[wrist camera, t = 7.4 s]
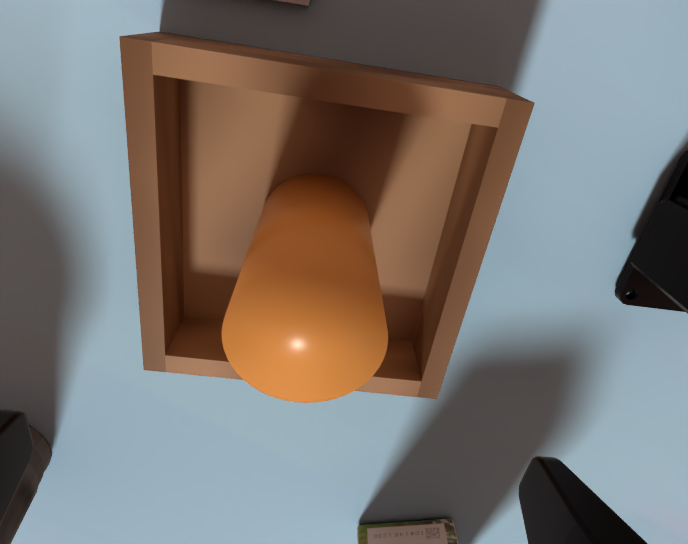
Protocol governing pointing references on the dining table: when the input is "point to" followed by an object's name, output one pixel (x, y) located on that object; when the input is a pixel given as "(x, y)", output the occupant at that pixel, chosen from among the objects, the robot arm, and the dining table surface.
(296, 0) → the dial plate
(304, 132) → the tray
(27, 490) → the beverage cup
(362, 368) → the pin
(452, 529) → the syrup box
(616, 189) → the dining table surface
